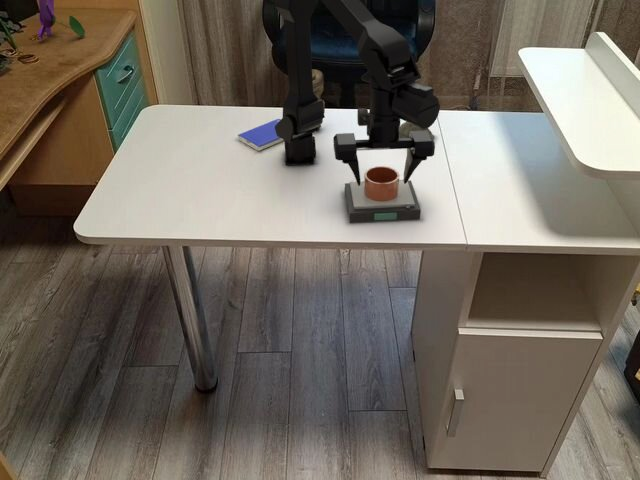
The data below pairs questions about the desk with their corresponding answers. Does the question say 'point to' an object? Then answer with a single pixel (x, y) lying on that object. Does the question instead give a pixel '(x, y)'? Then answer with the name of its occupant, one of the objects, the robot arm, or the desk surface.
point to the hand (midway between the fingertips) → (381, 183)
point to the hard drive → (261, 136)
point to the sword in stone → (408, 127)
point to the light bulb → (318, 84)
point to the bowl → (381, 183)
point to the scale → (381, 205)
